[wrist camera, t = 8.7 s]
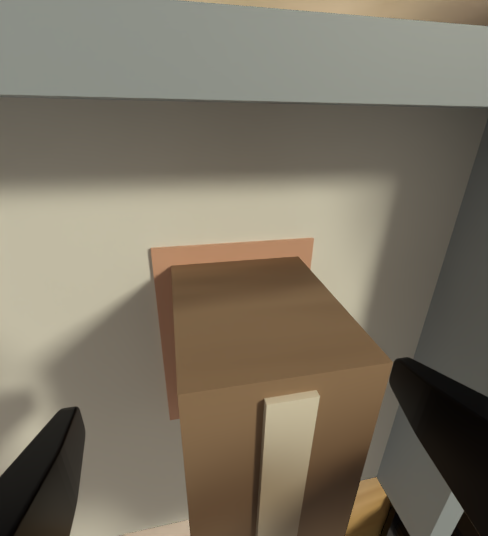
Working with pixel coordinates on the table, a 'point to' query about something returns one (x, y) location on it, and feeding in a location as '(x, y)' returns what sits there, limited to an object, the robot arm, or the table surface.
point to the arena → (229, 216)
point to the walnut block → (271, 398)
